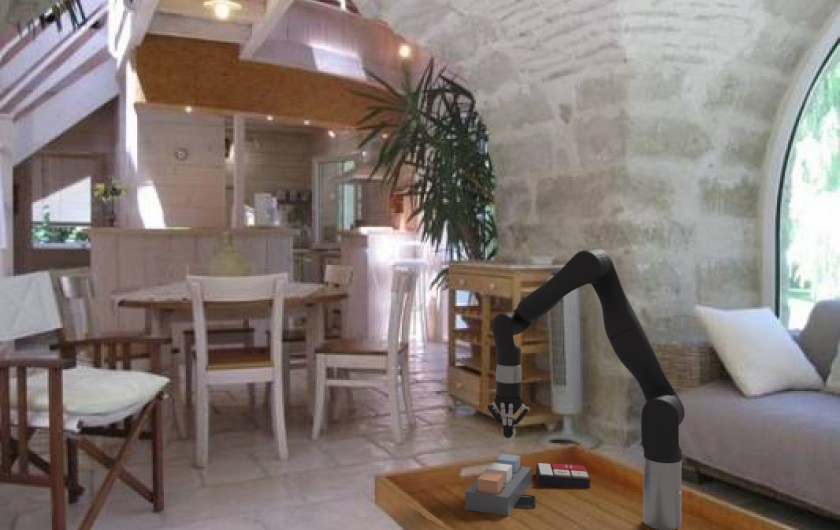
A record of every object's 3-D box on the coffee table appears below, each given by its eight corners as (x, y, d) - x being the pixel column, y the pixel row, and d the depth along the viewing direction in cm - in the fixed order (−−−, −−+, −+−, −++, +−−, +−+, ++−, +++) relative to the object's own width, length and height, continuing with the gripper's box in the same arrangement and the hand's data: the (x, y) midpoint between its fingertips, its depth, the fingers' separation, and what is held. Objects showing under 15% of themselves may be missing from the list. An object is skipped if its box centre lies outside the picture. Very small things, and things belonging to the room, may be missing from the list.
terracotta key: (503, 488, 195) (503, 474, 195) (497, 495, 190) (497, 481, 190) (483, 486, 197) (483, 472, 197) (477, 492, 192) (477, 478, 192)
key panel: (531, 484, 212) (531, 467, 212) (508, 516, 188) (508, 497, 188) (492, 478, 217) (492, 462, 216) (465, 509, 193) (465, 491, 192)
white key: (512, 478, 204) (512, 465, 203) (506, 484, 198) (506, 471, 198) (493, 475, 206) (493, 462, 206) (487, 482, 201) (487, 468, 200)
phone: (482, 492, 203) (535, 495, 201) (482, 496, 203) (535, 499, 201) (480, 502, 195) (535, 506, 193) (480, 506, 195) (535, 510, 193)
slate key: (520, 468, 212) (520, 455, 212) (515, 474, 207) (515, 461, 207) (501, 466, 214) (501, 453, 214) (496, 472, 209) (496, 459, 209)
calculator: (590, 476, 209) (539, 472, 210) (589, 491, 209) (538, 487, 210) (585, 464, 220) (536, 461, 221) (584, 478, 220) (535, 474, 221)
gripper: (533, 378, 210) (533, 436, 211) (490, 375, 215) (490, 431, 216) (527, 383, 203) (527, 443, 204) (483, 379, 208) (483, 438, 209)
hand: (508, 437), depth 210 cm, fingers closed
